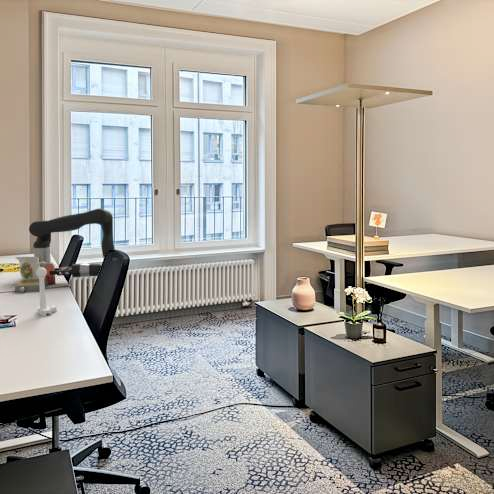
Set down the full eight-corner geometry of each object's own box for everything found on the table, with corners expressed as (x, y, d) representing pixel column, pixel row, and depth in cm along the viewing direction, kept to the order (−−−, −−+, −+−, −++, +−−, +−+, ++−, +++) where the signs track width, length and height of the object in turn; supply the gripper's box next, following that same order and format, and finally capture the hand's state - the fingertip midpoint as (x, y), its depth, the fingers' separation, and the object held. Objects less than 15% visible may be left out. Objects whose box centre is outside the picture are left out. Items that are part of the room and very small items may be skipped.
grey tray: (21, 287, 277) (20, 279, 276) (48, 285, 280) (47, 278, 279) (13, 293, 261) (12, 285, 261) (42, 292, 264) (42, 284, 264)
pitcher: (45, 282, 290) (43, 258, 289) (12, 282, 289) (11, 258, 288) (51, 278, 301) (50, 255, 300) (20, 279, 300) (18, 255, 299)
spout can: (45, 283, 287) (44, 257, 285) (56, 282, 288) (54, 256, 286) (43, 285, 282) (42, 258, 280) (54, 284, 283) (53, 258, 281)
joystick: (35, 311, 225) (33, 266, 222) (53, 308, 229) (51, 264, 226) (40, 316, 216) (37, 269, 213) (59, 314, 220) (56, 267, 217)
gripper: (82, 261, 294) (52, 262, 291) (79, 265, 280) (48, 266, 277) (83, 274, 295) (53, 275, 292) (80, 279, 281) (48, 280, 278)
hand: (50, 271), depth 284 cm, fingers open, 8 cm apart
